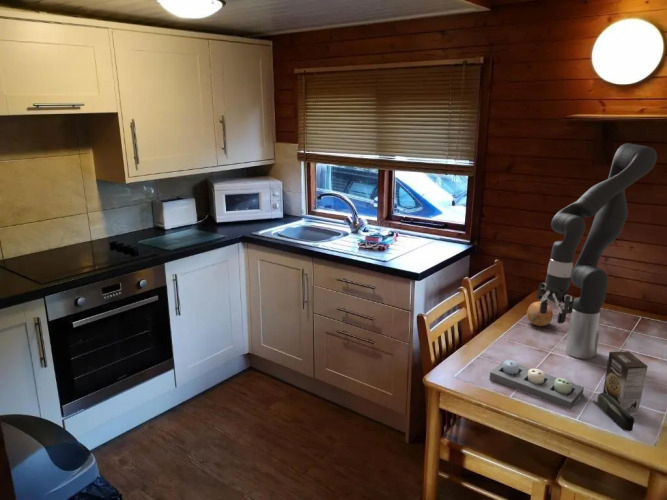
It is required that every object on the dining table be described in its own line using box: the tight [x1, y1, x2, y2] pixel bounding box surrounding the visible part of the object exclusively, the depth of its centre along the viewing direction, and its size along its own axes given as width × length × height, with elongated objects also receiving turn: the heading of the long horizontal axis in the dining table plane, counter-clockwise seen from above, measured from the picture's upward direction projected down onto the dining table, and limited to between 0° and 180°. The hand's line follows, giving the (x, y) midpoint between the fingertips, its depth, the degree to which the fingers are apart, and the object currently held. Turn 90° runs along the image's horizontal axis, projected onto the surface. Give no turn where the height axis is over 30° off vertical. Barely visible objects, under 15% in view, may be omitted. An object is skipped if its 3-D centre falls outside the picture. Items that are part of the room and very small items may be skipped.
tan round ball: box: [526, 301, 554, 327], centre depth 211 cm, size 10×10×10 cm
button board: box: [489, 359, 585, 410], centre depth 168 cm, size 26×11×2 cm, turn 47°
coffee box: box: [602, 350, 648, 415], centre depth 155 cm, size 9×6×16 cm
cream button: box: [527, 368, 546, 386], centre depth 167 cm, size 5×5×3 cm
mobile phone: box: [592, 392, 635, 432], centre depth 152 cm, size 5×3×15 cm
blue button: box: [502, 359, 520, 377], centre depth 173 cm, size 5×5×3 cm
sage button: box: [554, 377, 573, 396], centre depth 162 cm, size 5×5×3 cm
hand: (551, 317), depth 177 cm, fingers open, 8 cm apart
